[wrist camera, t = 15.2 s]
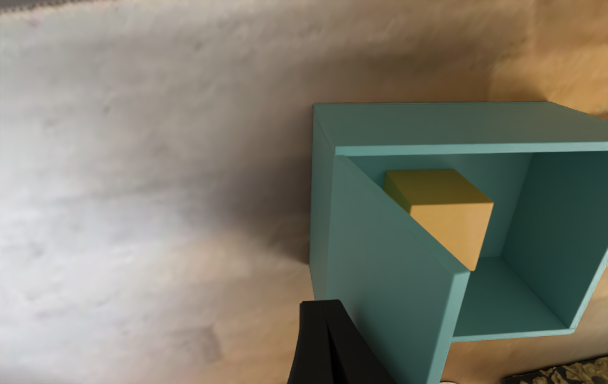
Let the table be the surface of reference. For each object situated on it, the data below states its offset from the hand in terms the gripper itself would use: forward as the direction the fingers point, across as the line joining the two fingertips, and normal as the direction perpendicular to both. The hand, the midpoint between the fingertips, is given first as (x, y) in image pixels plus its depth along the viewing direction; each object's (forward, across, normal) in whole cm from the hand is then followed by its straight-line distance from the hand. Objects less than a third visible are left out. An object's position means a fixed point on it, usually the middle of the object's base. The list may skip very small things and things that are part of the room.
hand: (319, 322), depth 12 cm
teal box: (+9, -7, 0) cm, 12 cm away
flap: (-1, -2, 0) cm, 2 cm away
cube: (+9, -7, 0) cm, 11 cm away
